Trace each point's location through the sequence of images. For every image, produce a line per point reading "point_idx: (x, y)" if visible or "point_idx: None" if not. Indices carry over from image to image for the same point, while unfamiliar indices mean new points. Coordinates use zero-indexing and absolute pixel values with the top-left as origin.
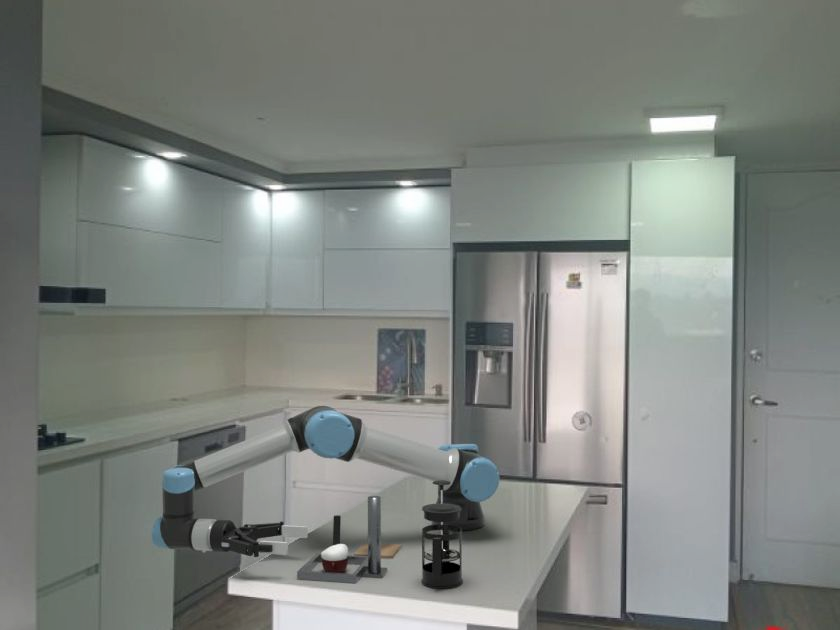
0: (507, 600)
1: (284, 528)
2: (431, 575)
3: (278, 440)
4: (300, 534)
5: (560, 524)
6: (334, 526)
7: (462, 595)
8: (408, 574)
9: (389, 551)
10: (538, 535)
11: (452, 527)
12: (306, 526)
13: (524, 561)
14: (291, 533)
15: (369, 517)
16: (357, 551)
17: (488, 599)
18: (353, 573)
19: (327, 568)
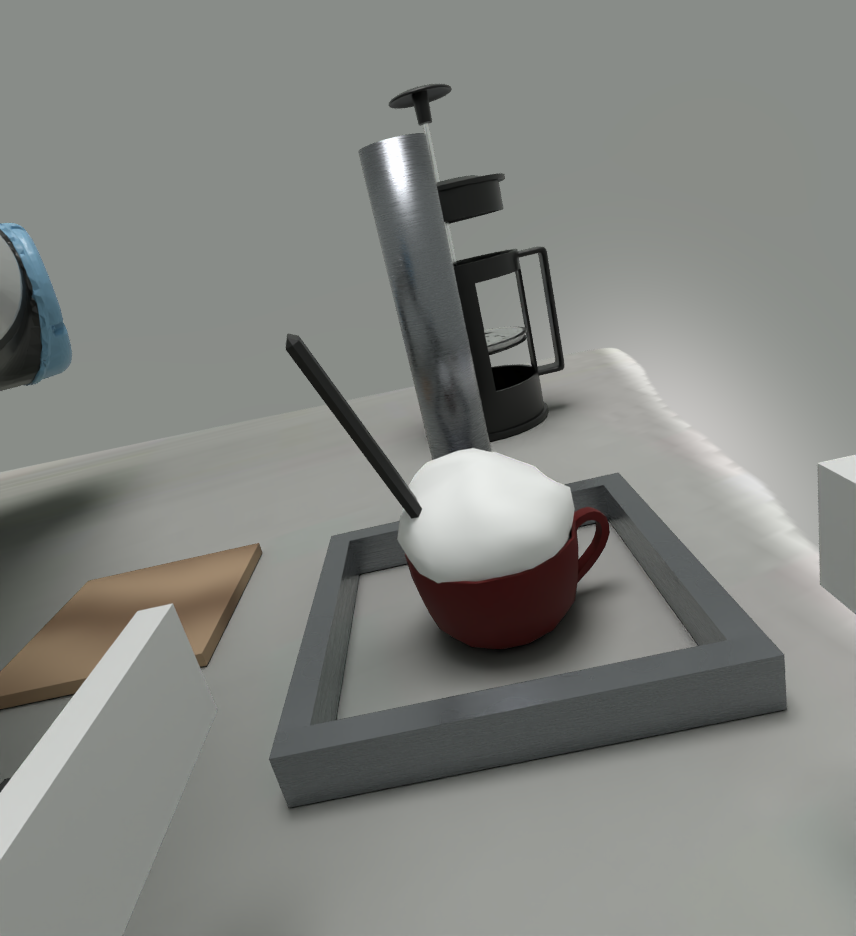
0: (553, 362)
1: (10, 911)
2: (538, 380)
3: None
4: (178, 732)
5: (15, 469)
6: (344, 403)
7: (564, 385)
8: None
9: (185, 571)
10: (92, 461)
11: None
12: (135, 616)
13: (294, 419)
14: (119, 840)
15: (444, 244)
16: None
17: (564, 369)
18: (601, 483)
19: (577, 579)
